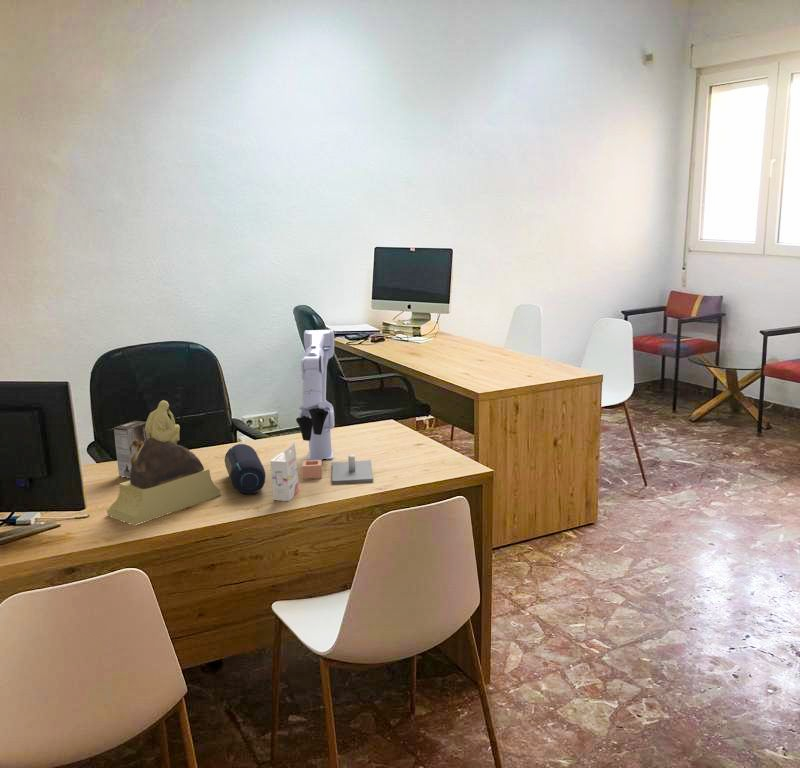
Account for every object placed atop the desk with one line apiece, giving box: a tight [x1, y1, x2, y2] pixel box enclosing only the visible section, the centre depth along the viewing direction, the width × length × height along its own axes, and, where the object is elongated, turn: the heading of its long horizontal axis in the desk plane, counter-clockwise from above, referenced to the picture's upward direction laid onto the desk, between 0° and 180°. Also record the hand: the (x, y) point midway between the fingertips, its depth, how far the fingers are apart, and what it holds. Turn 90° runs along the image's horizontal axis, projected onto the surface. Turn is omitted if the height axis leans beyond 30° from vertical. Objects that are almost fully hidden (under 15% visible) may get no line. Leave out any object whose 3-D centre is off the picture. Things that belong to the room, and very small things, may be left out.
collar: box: [301, 459, 323, 480], centre depth 251 cm, size 6×6×4 cm
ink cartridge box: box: [269, 442, 300, 502], centre depth 233 cm, size 9×5×15 cm, turn 168°
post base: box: [331, 454, 374, 485], centre depth 252 cm, size 18×12×6 cm, turn 4°
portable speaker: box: [224, 443, 266, 495], centre depth 245 cm, size 25×10×10 cm, turn 17°
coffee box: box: [112, 420, 151, 479], centre depth 257 cm, size 9×6×16 cm
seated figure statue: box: [106, 399, 222, 526], centre depth 228 cm, size 28×13×30 cm, turn 141°
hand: (312, 437), depth 248 cm, fingers open, 7 cm apart
